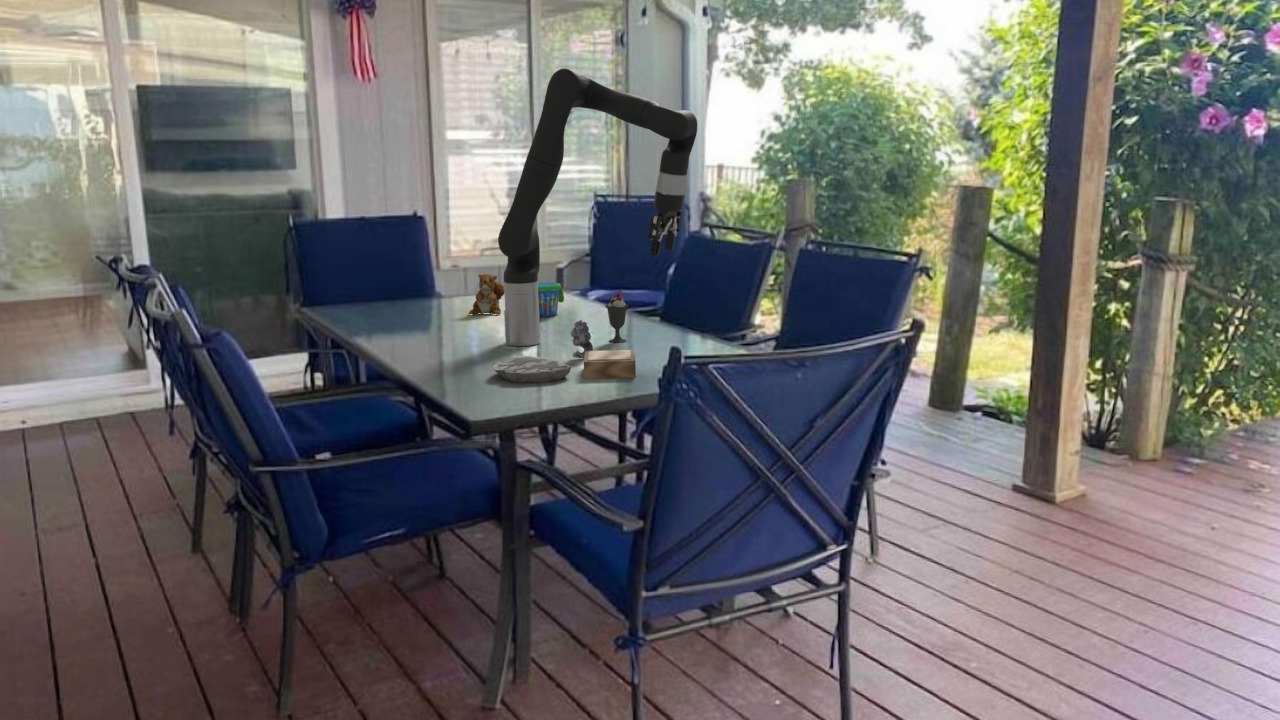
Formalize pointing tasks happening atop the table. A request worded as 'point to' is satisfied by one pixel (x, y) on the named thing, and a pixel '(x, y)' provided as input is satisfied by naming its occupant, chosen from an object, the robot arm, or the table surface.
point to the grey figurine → (581, 338)
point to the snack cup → (549, 298)
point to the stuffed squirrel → (488, 295)
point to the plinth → (609, 364)
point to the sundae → (617, 315)
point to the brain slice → (531, 369)
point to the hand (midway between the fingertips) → (661, 252)
